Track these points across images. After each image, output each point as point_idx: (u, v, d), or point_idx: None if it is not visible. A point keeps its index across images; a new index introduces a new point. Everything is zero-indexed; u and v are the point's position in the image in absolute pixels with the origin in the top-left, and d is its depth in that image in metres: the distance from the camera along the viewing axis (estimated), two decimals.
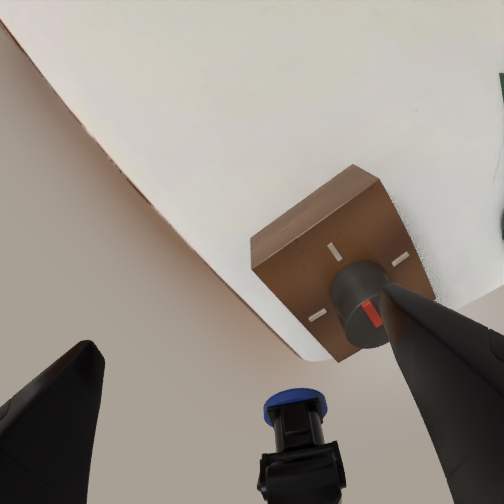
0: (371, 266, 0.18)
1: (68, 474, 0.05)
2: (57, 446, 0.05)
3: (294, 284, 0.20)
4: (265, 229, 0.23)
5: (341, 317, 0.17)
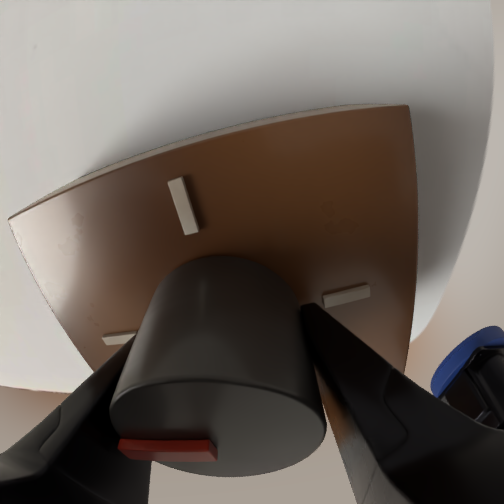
0: (147, 309, 0.07)
1: (130, 487, 0.05)
2: (119, 457, 0.05)
3: None
4: None
5: None
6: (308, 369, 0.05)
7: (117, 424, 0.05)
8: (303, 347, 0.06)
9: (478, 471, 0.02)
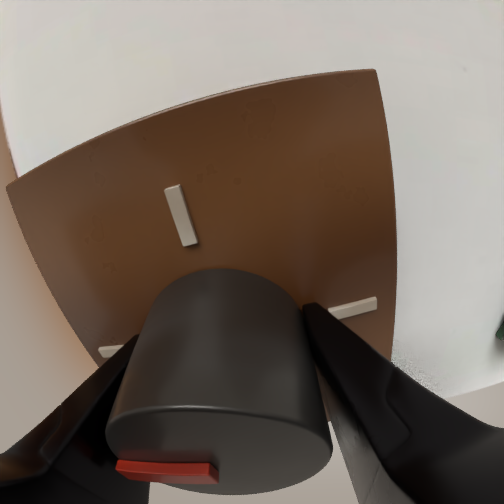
0: (143, 325, 0.07)
1: (130, 487, 0.05)
2: None
3: (73, 259, 0.07)
4: None
5: None
6: (313, 390, 0.05)
7: (114, 446, 0.04)
8: (308, 366, 0.05)
9: (480, 470, 0.02)
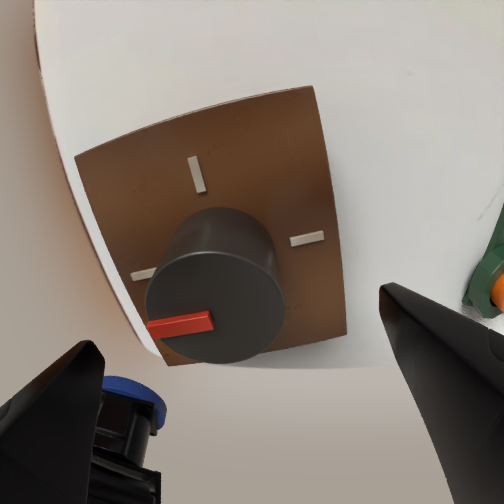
0: None
1: (68, 474, 0.05)
2: (57, 446, 0.05)
3: (122, 205, 0.11)
4: None
5: None
6: (271, 264, 0.09)
7: (149, 305, 0.09)
8: (269, 255, 0.10)
9: None
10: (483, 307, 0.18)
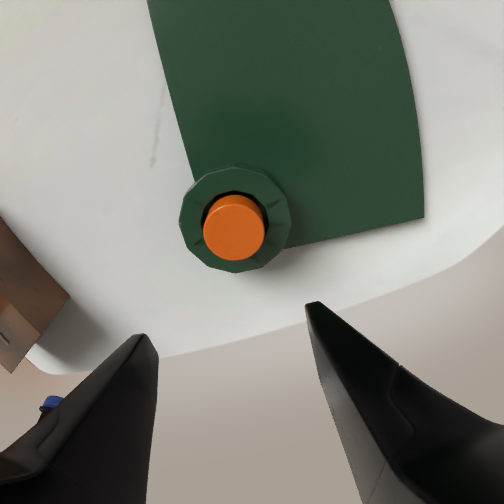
0: None
1: (127, 487, 0.05)
2: (117, 456, 0.05)
3: None
4: None
5: None
6: None
7: None
8: None
9: (486, 466, 0.02)
10: (215, 262, 0.17)
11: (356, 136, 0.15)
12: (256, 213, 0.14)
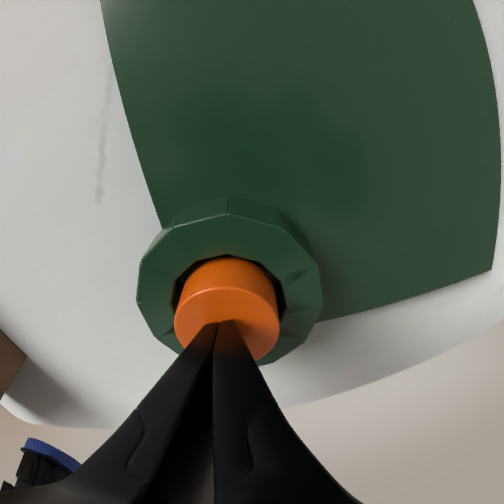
0: None
1: None
2: (208, 460, 0.05)
3: None
4: None
5: None
6: None
7: None
8: None
9: None
10: None
11: (425, 156, 0.09)
12: (266, 301, 0.08)
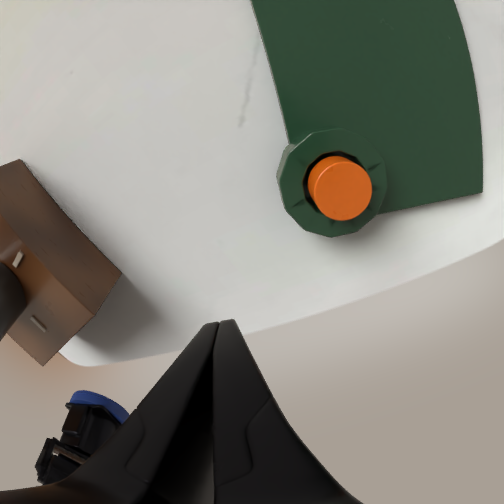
0: None
1: None
2: (208, 460, 0.05)
3: None
4: None
5: None
6: None
7: None
8: None
9: None
10: (312, 225, 0.16)
11: (433, 113, 0.14)
12: (366, 172, 0.13)
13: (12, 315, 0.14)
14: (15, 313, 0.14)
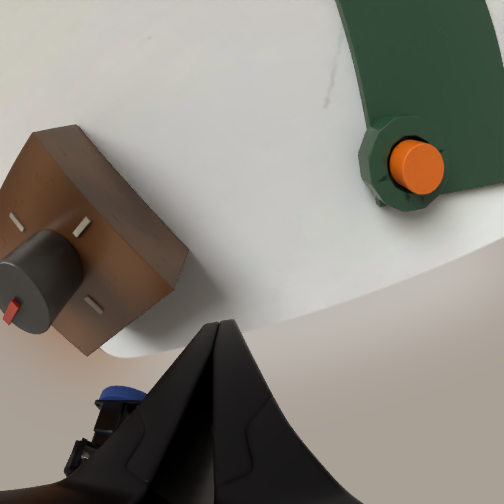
0: None
1: None
2: (208, 460, 0.05)
3: None
4: None
5: None
6: (29, 258, 0.11)
7: None
8: (35, 252, 0.12)
9: None
10: (392, 199, 0.16)
11: (477, 110, 0.15)
12: (440, 154, 0.14)
13: (69, 292, 0.14)
14: (71, 291, 0.14)
